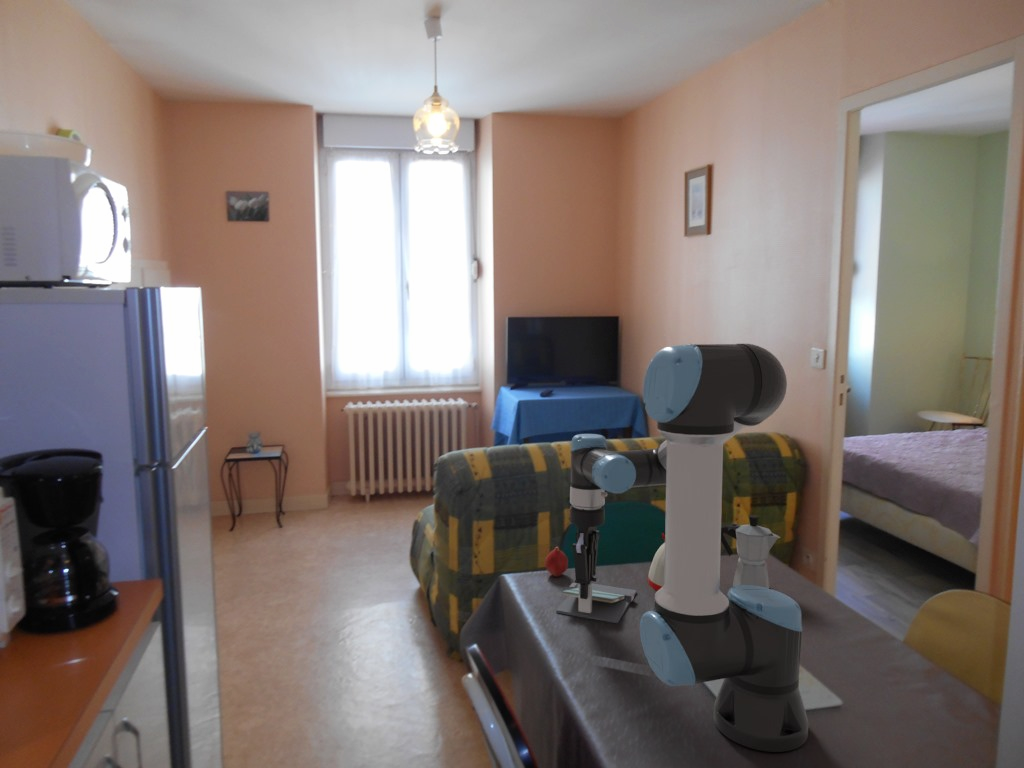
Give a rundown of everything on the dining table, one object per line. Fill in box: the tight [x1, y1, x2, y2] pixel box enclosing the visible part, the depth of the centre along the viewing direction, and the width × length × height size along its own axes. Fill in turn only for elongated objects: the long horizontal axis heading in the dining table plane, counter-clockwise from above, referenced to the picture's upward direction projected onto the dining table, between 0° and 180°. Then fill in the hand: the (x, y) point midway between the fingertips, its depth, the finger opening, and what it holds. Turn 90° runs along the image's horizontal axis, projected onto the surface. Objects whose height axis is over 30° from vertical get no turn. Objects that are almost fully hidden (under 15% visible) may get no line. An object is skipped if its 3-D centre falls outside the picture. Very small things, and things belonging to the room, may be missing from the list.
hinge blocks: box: [568, 582, 635, 603], centre depth 169 cm, size 2×15×1 cm, turn 67°
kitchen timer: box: [647, 532, 665, 592], centre depth 176 cm, size 14×14×15 cm
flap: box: [561, 587, 626, 603], centre depth 164 cm, size 13×12×1 cm
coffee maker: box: [721, 514, 781, 589], centre depth 175 cm, size 15×9×18 cm, turn 58°
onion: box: [544, 546, 569, 578], centre depth 181 cm, size 6×6×8 cm
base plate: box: [555, 583, 637, 624], centre depth 166 cm, size 18×14×1 cm
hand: (585, 611), depth 157 cm, fingers closed
